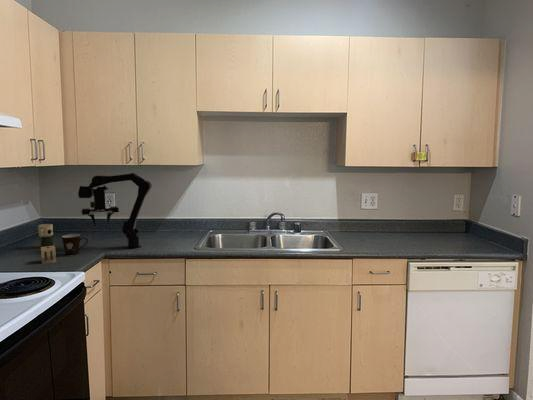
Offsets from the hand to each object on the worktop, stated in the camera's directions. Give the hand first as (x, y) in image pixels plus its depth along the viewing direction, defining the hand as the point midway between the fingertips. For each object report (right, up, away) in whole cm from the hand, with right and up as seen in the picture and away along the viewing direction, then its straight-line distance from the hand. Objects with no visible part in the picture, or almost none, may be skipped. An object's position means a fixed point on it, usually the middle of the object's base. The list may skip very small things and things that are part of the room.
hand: (101, 225), depth 213 cm
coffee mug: (-9, -15, -12) cm, 21 cm away
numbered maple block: (-15, -16, -24) cm, 33 cm away
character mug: (-33, -13, +5) cm, 36 cm away
